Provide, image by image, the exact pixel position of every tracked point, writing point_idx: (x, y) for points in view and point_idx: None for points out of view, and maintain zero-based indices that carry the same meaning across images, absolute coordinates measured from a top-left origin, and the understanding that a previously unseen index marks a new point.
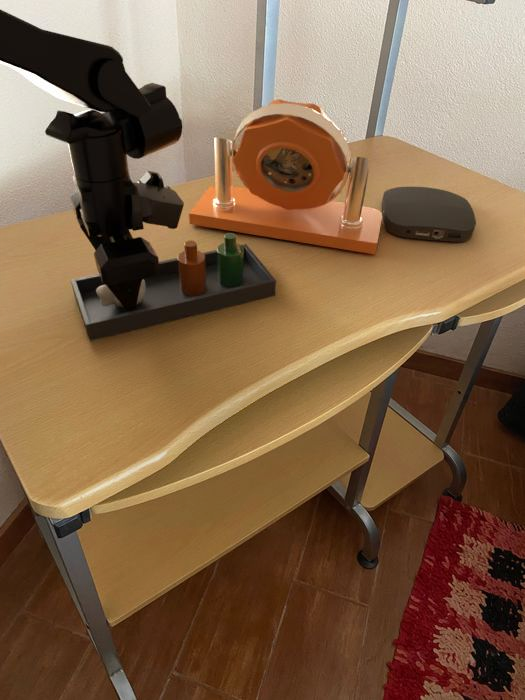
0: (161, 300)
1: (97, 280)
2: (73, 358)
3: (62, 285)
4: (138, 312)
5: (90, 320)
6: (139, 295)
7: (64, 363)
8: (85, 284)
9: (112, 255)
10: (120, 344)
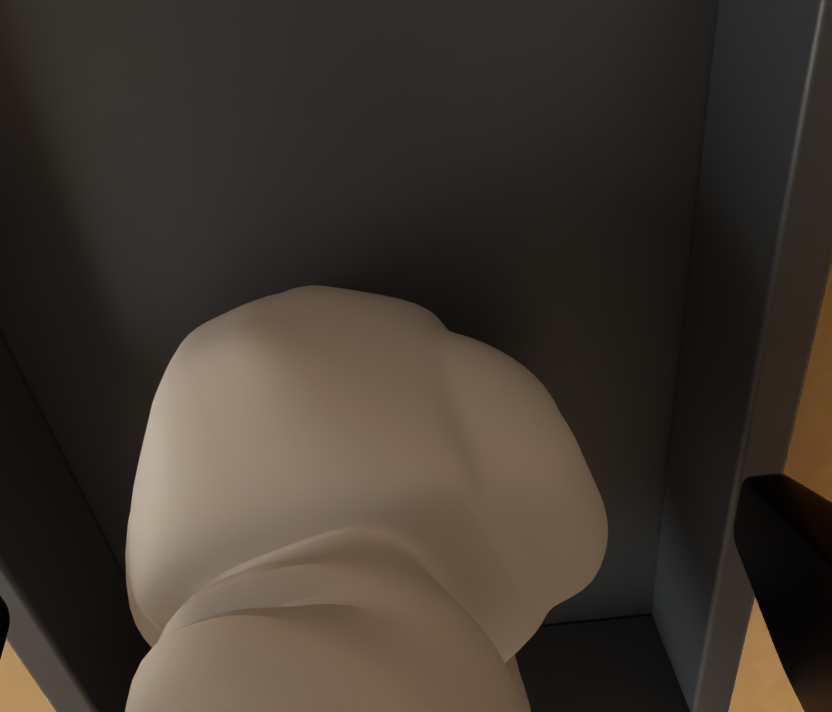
0: (399, 81)
1: (90, 641)
2: (771, 663)
3: (37, 706)
4: (792, 430)
5: None
6: (553, 416)
7: (784, 691)
8: None
9: None
10: (802, 465)
